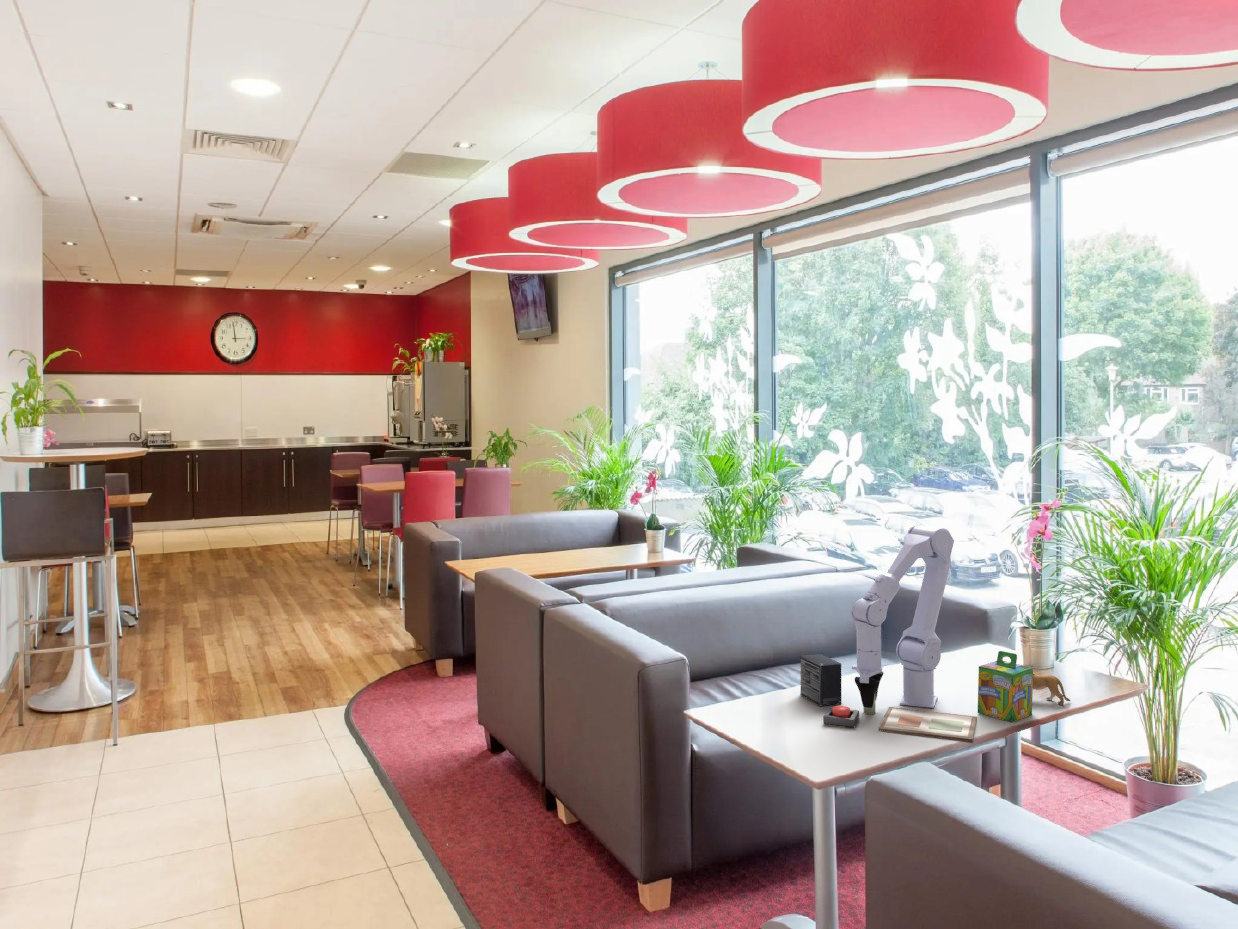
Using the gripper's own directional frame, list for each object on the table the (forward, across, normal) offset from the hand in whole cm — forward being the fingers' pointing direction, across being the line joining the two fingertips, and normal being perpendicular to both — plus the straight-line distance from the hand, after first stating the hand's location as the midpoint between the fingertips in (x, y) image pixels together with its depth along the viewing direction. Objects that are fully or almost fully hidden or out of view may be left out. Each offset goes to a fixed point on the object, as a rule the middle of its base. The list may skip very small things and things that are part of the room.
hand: (869, 704), depth 220 cm
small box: (+2, -6, -13) cm, 15 cm away
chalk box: (+2, -10, +30) cm, 32 cm away
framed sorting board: (+2, +4, +14) cm, 15 cm away
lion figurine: (+2, -23, +37) cm, 43 cm away
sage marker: (+2, 0, 0) cm, 2 cm away
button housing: (+2, +9, -5) cm, 10 cm away
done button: (+1, +9, -5) cm, 10 cm away
